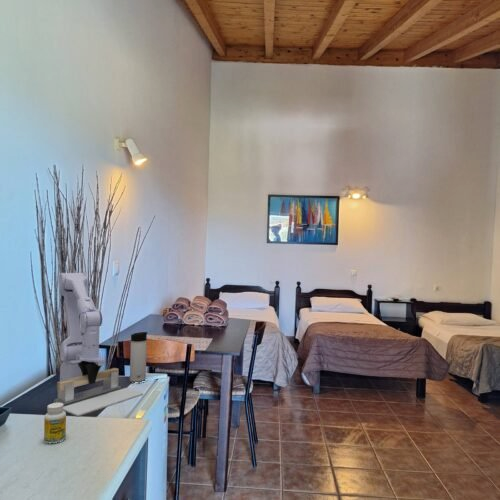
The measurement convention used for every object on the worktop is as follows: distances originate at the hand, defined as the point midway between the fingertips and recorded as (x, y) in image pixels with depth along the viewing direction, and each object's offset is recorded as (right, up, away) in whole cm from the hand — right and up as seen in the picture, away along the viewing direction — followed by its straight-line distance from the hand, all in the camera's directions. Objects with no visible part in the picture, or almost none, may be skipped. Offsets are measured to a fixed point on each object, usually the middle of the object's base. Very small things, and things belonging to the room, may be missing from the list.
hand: (89, 382), depth 146 cm
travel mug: (+13, -6, +18) cm, 23 cm away
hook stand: (0, -5, 0) cm, 5 cm away
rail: (0, 0, 0) cm, 0 cm away
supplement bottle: (+4, -5, -35) cm, 36 cm away
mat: (+7, -5, -5) cm, 10 cm away
